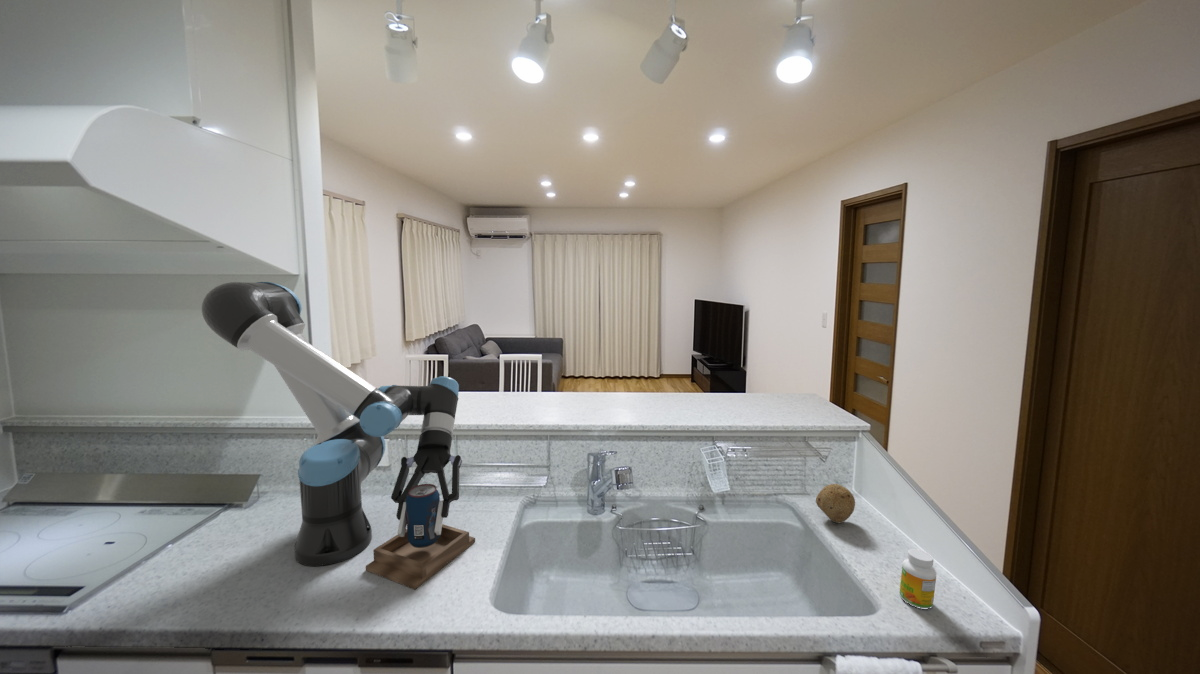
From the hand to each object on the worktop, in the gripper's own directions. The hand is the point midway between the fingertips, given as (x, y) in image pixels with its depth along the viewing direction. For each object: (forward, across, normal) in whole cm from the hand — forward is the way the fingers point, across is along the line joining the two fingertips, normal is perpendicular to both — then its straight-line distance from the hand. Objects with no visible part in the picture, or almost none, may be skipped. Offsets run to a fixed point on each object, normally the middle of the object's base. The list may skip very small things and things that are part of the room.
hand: (419, 534), depth 93 cm
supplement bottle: (+20, -100, +8) cm, 102 cm away
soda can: (0, 0, -5) cm, 5 cm away
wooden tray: (+3, 0, -8) cm, 8 cm away
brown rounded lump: (-1, -102, -12) cm, 103 cm away
